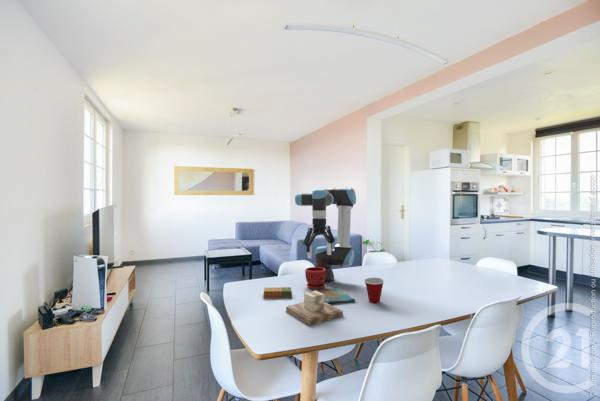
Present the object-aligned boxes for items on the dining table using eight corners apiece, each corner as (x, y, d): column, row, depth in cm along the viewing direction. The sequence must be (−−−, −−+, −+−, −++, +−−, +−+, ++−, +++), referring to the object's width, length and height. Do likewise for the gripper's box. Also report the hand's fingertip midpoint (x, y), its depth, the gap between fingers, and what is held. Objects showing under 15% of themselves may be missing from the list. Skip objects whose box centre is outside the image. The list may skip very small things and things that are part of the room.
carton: (264, 294, 174) (264, 287, 174) (291, 293, 175) (291, 286, 175) (263, 298, 166) (263, 291, 166) (291, 298, 167) (292, 290, 167)
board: (318, 303, 158) (318, 298, 158) (343, 316, 141) (343, 310, 141) (286, 311, 147) (286, 305, 147) (309, 325, 130) (309, 319, 130)
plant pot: (325, 284, 193) (325, 266, 192) (325, 291, 179) (325, 271, 179) (305, 284, 194) (306, 266, 194) (304, 290, 181) (304, 270, 181)
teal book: (326, 306, 155) (326, 301, 155) (312, 292, 178) (312, 288, 178) (356, 303, 160) (356, 298, 160) (338, 290, 182) (338, 286, 182)
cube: (315, 304, 149) (315, 290, 149) (324, 308, 143) (324, 294, 143) (304, 307, 145) (304, 293, 145) (312, 311, 139) (312, 297, 139)
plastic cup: (359, 299, 164) (359, 278, 164) (375, 297, 169) (375, 276, 169) (372, 306, 154) (372, 283, 154) (388, 303, 159) (388, 281, 159)
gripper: (332, 216, 170) (332, 252, 171) (296, 218, 156) (296, 258, 157) (340, 217, 164) (341, 254, 165) (304, 219, 150) (304, 260, 151)
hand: (319, 256), depth 161 cm, fingers open, 13 cm apart
